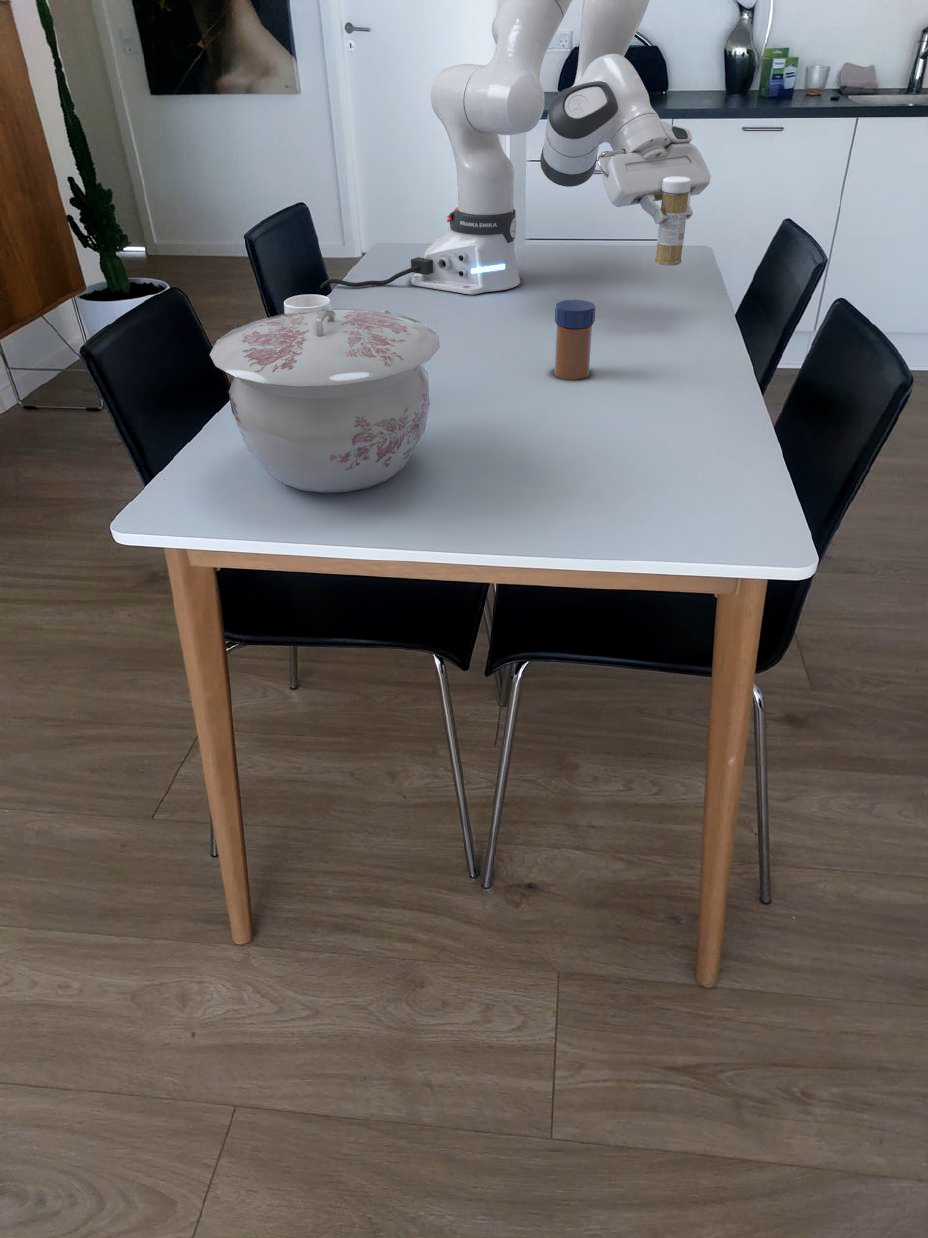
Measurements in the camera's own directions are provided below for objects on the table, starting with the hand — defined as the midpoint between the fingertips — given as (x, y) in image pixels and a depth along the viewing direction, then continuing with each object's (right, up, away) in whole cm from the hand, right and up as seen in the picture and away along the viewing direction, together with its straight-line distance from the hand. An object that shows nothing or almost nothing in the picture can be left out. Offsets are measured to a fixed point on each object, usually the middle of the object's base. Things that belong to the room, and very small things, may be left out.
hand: (675, 219), depth 158 cm
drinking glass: (-57, -34, -15) cm, 69 cm away
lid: (-18, -19, -13) cm, 29 cm away
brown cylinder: (-18, -28, -7) cm, 34 cm away
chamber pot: (-51, -47, -35) cm, 78 cm away
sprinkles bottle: (0, -6, +5) cm, 7 cm away
